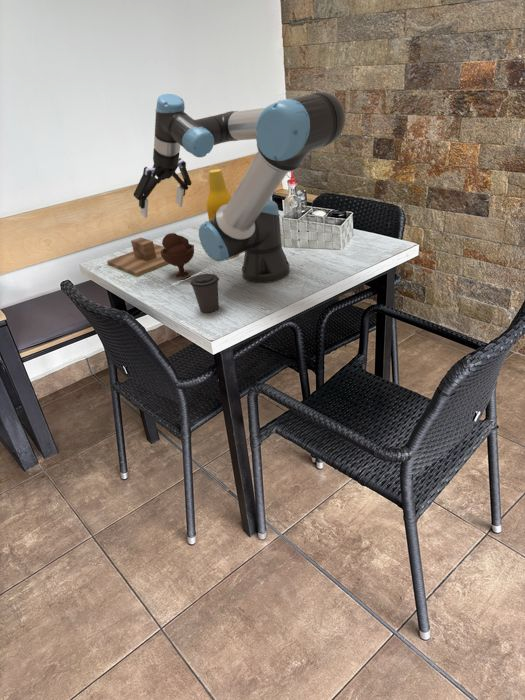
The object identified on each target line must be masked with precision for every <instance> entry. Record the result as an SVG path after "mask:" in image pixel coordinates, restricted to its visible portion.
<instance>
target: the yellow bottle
mask: <svg viewBox="0 0 525 700" xmlns="http://www.w3.org/2000/svg"><path fill="white" fill-rule="evenodd" d="M208 185H209V186H208V187H209V190H208V195H207V199H206V212H207V217H208V221H210V220H212V219H213V218H214V216H215V214H216V212H217V211H218V209H219V208H220V207H221V206H223V205H225V204H228V203H229V201H230V199H231V198H232V196H231V194H230V193H229V191H228V189H227V187H226V184H225V179H224V176H223V170H222V169H220V168H218V169H211V170H209V171H208ZM237 257H239V254H237V255H235V256H232V257H230V258H229V260H230V259H232V260H233V259H234V258H237Z"/></svg>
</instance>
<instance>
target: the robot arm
mask: <svg viewBox="0 0 525 700" xmlns="http://www.w3.org/2000/svg"><path fill="white" fill-rule="evenodd" d="M185 108H186V106H185V102H184V99H183V98H182V97H181V96H179V95H178V94H177V95H176V94H174V93H163V94H161V95H159V96H158V97H157V101H156V108H155V120H154V121H155V124H154V136H153V137H154V143H153V155H152V156H153V157H152V162H153V165H152V167H149V168H148V166H145V167H144V168H143V172H142V176H141V177H140V180H139V182H138V184H137V186H136V188H135V191H134V192H133V197H134V198H135V199H136V200H138V206H139V208H140V210H139V211H140V214H141V216H143V218H145V219H147V218H148V212H149V211H148V209H149V199H148V197H149V196H150V194H151V193H152V192H153V191H154V189H155V188H156V187H157V185H158V184H160V183H161V182H162V181H164V180H166V179H167V180H169V179H171V178H172V177H173V179H175V181H176V182H177V183H178V185H176V194H175V195H176V196H175V204H177V205H178V207H180V208H181V207H183V203H184V201H183V200H184V197H185V195H186V191H188V189H189V186H191V185H192V183H193V182H192V180H191V177H190V175H189V173H188V170H187V162H186V161H184V159H182V157H180V151H181V147H182V148H183V149H184V150H185V151H186V152H188V153H189V154H191V155H192V156H193V157H196V158H203V157H207V155H208V154H210V153H211V152H212V150H213V148H214V146H216V145H219V144H225V143H227V142H236V141H239V142H240V141H248V140H249V141H250V140H256V147H257V152H256V154H255V156H254V158H253V160H252V161H251V163H250V165H249V167H248V168H247V169H246V172H245V173H244V175H243V176H242V179H241V180H240V181H239V184H238V186H237V187H236V190H235V191H234V193H233V194H232V196H231V199H230V201H229V203H228V204H225V205H223V206H221V207H220V208H219V209H218V211H217V212H216V214H215V216H214V218H213V219H212V220H210V221H209V220H208V221H204V223H201V224H200V225H199V228H198V237H199V241H200V245H201V246H202V249H203V251H204V252H205V253H206V255H207V256H208V257H209V258H210V259H211V260H213V261H215V262H222V261H225V260H226V261H228V260H230V258H233V257H235V255H236V256H237V254H238V255H240V254H241V253H244V257H243V263H242V267H241V274H242V278H243V279H244V280H245V281H248V282H250V283H261V284H262V283H270V282H275V281H279V280H282V279H284V278H285V277H288V275H289V274H290V272H291V270H290V263H289V261H288V259H287V256H286V254H285V252H284V250H283V244H282V233H281V221H280V219H281V218H280V216H281V214H280V212H279V207H278V204H277V202H275V201H274V200H272V199H271V198H272V197H273V195H274V194H275V191H277V190H278V188H279V186H280V185H281V184H282V182H283V180H284V179H285V177H286V175H287V174H288V173H291V172H295V171H296V170H297V169H299V167H301V165H302V164H303V162H304V160H305V159H306V158H307V156H308V155H309V153H311V152H313V151H315V150H317V149H321V148H324V147H326V146H330V145H331V144H333V143H334V142H335V141H336V140H338V139H339V138H340V136H341V135H342V132H343V131H344V129H345V126H346V121H347V119H346V117H347V114H346V111H345V108H344V105H343V103H342V101H340V99H339V98H338V97H337V96H336V95H334V94H331V93H330V92H329V93H328V92H325V91H323V92H318V91H317V92H313V93H310V94H309V93H308V94H306V95H302V96H298V97H294V98H284V99H280V100H277V101H276V102H274V103H271V104H269V105H268V106H266V107H261V108H255V109H253V108H252V109H246V110H231V111H226V112H223V113H220V114H215V115H209V116H207V117H202V118H197V119H194V118H192V116H190V115H188V114H187V113H186V112H185ZM177 169H179V172H180V174H181V175H182V176H181V177H182V178H181V177H180V176H179V174H177V172H176V171H177ZM232 256H233V257H232Z"/></svg>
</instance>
